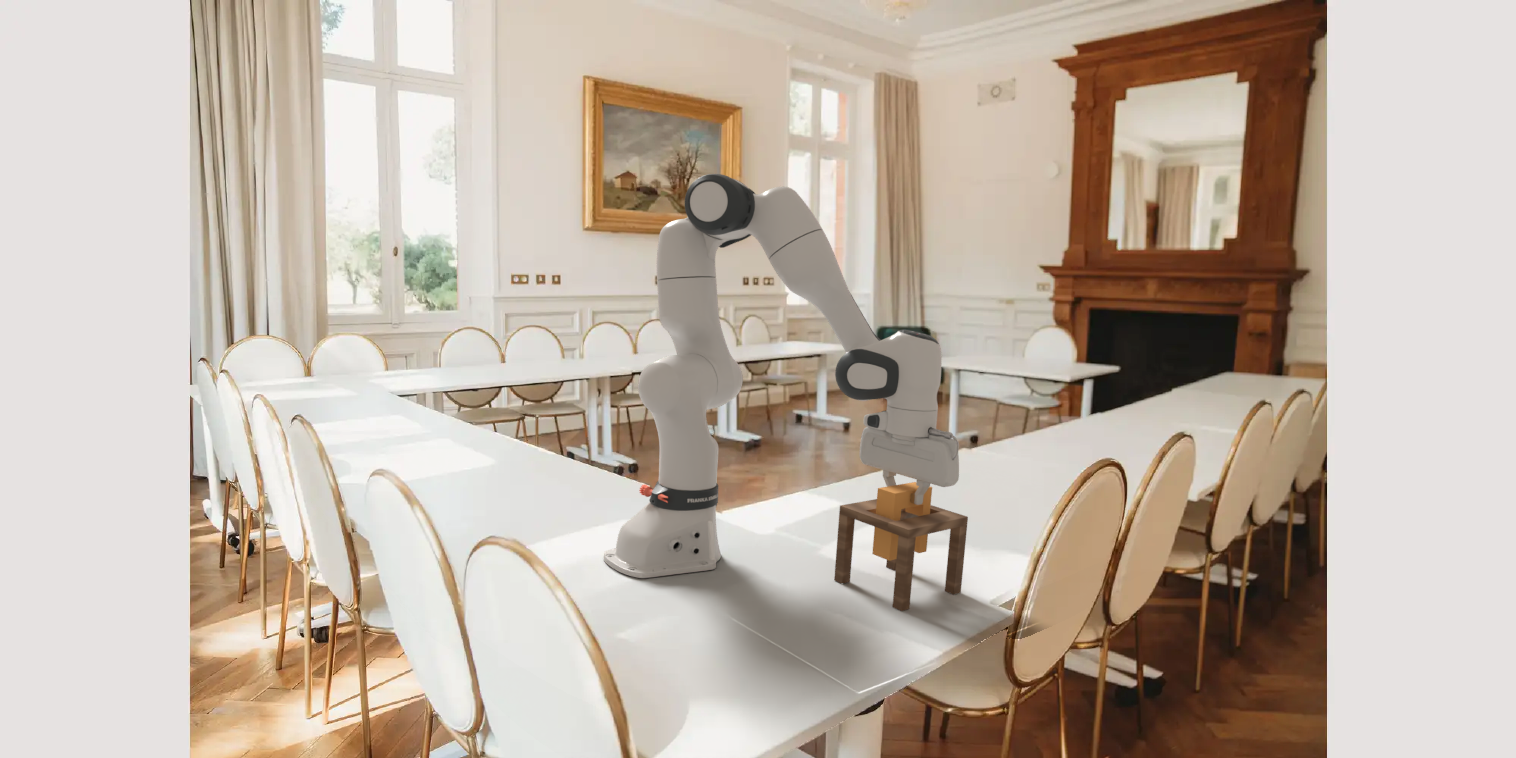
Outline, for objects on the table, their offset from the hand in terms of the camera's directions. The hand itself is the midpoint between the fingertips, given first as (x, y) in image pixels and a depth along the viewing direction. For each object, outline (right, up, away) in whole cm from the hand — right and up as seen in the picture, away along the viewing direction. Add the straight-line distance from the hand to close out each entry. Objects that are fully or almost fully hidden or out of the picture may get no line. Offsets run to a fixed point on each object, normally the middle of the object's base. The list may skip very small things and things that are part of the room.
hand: (904, 499), depth 146 cm
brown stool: (-1, -16, +2) cm, 16 cm away
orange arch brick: (-1, -10, +1) cm, 10 cm away
